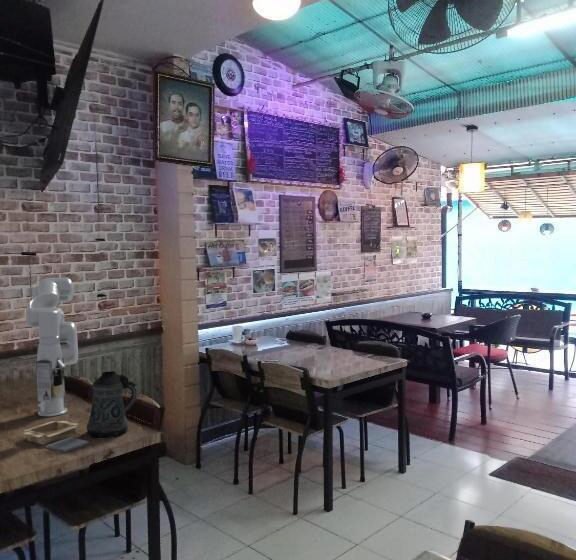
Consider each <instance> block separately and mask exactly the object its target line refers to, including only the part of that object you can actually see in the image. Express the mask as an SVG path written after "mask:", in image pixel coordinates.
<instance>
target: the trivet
mask: <svg viewBox="0 0 576 560" xmlns="http://www.w3.org/2000/svg"><path fill="white" fill-rule="evenodd" d="M88 443H89V444H90V441H89V440H84V439H78V438H75V437H72V436H70V437H67V438H64V439H61V440H58V441H55V442H52V443H49V444H46V445H45V448H46V449H51V450H54V451H58V452H62V453H67V452H70V451H72V450H75V449H78V448H81V447H83V446H86V445H88Z"/></svg>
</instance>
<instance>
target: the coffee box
mask: <svg viewBox="0 0 576 560" xmlns="http://www.w3.org/2000/svg"><path fill="white" fill-rule="evenodd" d="M62 363H63V364H64V359H63V358H62ZM35 365H36V382H37V383H36V385H37V388H36V390H37V402H41V401H43V402H52V401H55V400H57V399H59V398H62V397H63V398H64V397H65V396H66V387H65V386H66V385H65V371H64V372H63V374H62V385H59V386H54V376H55V374H54V370H51V362H50V361H44V360H40V361H37V360H36V362H35ZM56 368H58V367H57V366H56ZM56 371H57V372H58V370H56Z"/></svg>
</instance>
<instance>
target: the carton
mask: <svg viewBox="0 0 576 560" xmlns="http://www.w3.org/2000/svg"><path fill="white" fill-rule="evenodd" d="M79 428H80V426H79V423H75V422H70V421H66V420H60V421H59V420H56V421H55V420H53V421H49V422H46V423H43V424H39V425H36V426H33V427H30V428H26V429H23V430H22V435H25V436H26V441H28V442H32V443H35V444H39V445H45V446H46V445H49V444H52V443H55V442H57V441H60V440H63V439H66V438H69V437H73V436H75V435H76V429H79Z"/></svg>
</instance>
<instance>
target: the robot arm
mask: <svg viewBox="0 0 576 560" xmlns="http://www.w3.org/2000/svg"><path fill="white" fill-rule="evenodd" d="M74 289H75V288H74V283H73V281H72V280H71V278H69V277H45V278H43V279H41V280H40V281H39V282H38V285H36V286H35V287H33V288H32V299H31V300H30V301H29V302H28V303H27V306H26V310H25V320H26V324H27V326H29V327H31V328H38V336H39V337H38V340H39V342H38V343H39V344H38V345H37V353H36V357H37V358H36V361H40V360H44V361H50V362H51V370H54V374H55V376H54V386H59V385H62V374H63V372H64V373H65V369H66V366H69V365H75V364H77V362H78V359H79V346H78V344H79V343H78V330H77V326H76V323H75V322H73V321H65V312H64V310H63V309H62V308H60V307H57V305H59V303H69V302H71V301H72V300H73V298H74ZM61 343H67V344H61ZM62 358H63V359H64V364H63V363H62ZM56 366H57V367H58V368H56ZM56 370H58V372H57V371H56ZM37 407H38V408H40V410H38V411H37V415H38V416H39V417H56V416H61V415H63V414H65V413H67V412H68V408H67V407H65V406H64V397H62V398H59V399H57V400H55V401H52V402H43V401H40V403H38V404H37Z"/></svg>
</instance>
